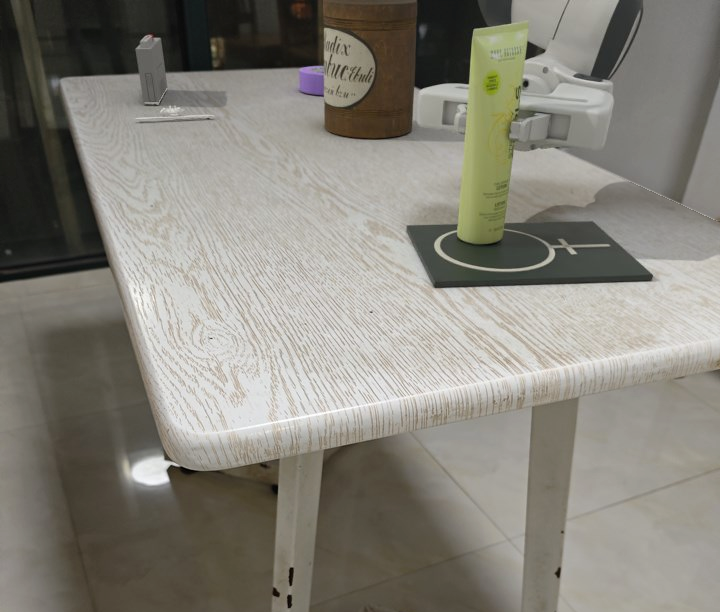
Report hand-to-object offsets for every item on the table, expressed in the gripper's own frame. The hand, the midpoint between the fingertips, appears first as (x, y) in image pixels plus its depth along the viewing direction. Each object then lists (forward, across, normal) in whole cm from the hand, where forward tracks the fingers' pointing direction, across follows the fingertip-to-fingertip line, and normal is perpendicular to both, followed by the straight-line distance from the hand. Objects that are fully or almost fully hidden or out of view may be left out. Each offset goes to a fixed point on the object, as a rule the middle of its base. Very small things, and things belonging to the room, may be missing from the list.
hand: (488, 128), depth 68 cm
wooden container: (-44, -35, +12) cm, 58 cm away
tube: (-1, 0, +11) cm, 11 cm away
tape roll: (-70, -57, +12) cm, 91 cm away
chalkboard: (-1, +5, +12) cm, 13 cm away
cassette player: (-46, -82, +12) cm, 95 cm away
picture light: (-33, -67, +12) cm, 76 cm away
